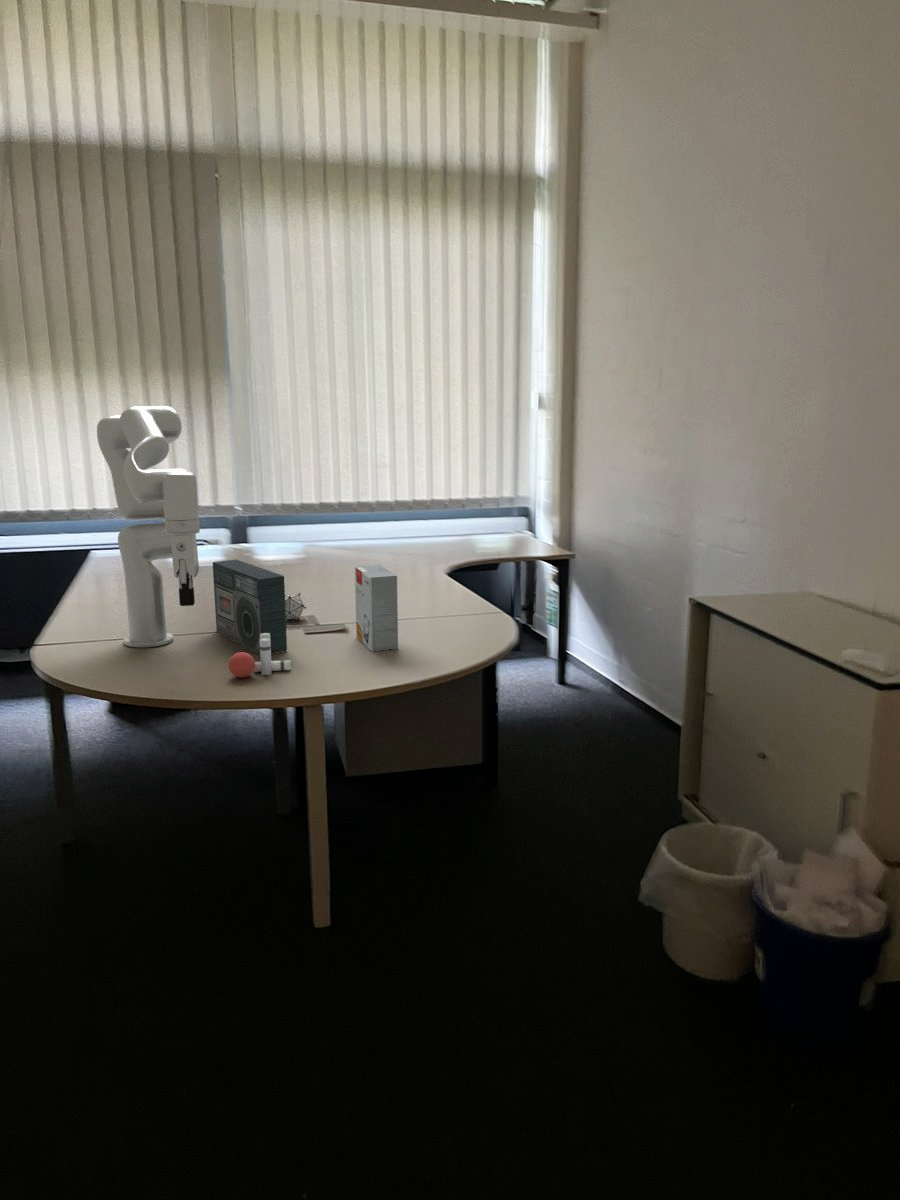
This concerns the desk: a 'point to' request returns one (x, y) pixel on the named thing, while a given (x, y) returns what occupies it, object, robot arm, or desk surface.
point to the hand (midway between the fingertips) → (187, 604)
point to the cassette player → (249, 604)
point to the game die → (293, 606)
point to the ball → (241, 664)
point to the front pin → (275, 665)
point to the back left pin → (265, 636)
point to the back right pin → (265, 656)
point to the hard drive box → (376, 607)
